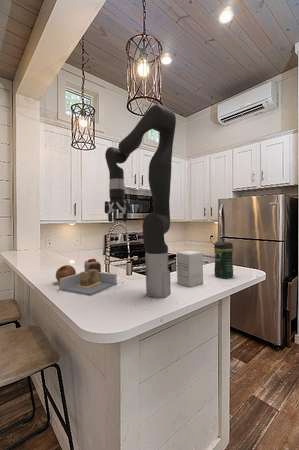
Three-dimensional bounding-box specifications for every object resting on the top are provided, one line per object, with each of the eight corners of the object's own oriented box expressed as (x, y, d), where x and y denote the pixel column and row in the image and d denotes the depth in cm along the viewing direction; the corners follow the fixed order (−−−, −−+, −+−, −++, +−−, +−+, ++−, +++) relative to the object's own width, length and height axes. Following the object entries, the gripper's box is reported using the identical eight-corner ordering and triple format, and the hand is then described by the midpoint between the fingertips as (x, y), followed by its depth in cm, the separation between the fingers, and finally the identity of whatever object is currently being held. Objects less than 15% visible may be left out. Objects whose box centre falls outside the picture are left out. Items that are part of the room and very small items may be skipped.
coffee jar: (236, 277, 120) (235, 241, 119) (223, 279, 117) (222, 242, 117) (224, 273, 129) (223, 240, 129) (211, 275, 126) (211, 241, 126)
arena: (116, 284, 111) (116, 274, 111) (90, 295, 95) (90, 283, 95) (88, 280, 120) (87, 270, 120) (59, 290, 104) (59, 278, 104)
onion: (64, 291, 112) (60, 274, 107) (54, 283, 118) (49, 267, 113) (81, 280, 119) (77, 264, 114) (70, 273, 124) (66, 257, 119)
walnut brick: (87, 286, 105) (86, 273, 105) (80, 285, 107) (80, 272, 107) (98, 282, 112) (98, 269, 112) (92, 281, 114) (91, 269, 114)
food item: (83, 274, 133) (82, 257, 133) (96, 273, 137) (96, 256, 137) (88, 280, 121) (88, 261, 121) (103, 277, 125) (103, 259, 125)
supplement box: (190, 280, 117) (190, 250, 117) (203, 284, 110) (203, 252, 109) (176, 283, 112) (176, 251, 112) (189, 287, 105) (188, 254, 104)
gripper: (100, 189, 115) (101, 222, 116) (124, 186, 109) (125, 221, 109) (109, 190, 122) (110, 221, 122) (133, 188, 116) (134, 221, 116)
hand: (117, 221), depth 116 cm, fingers open, 8 cm apart
